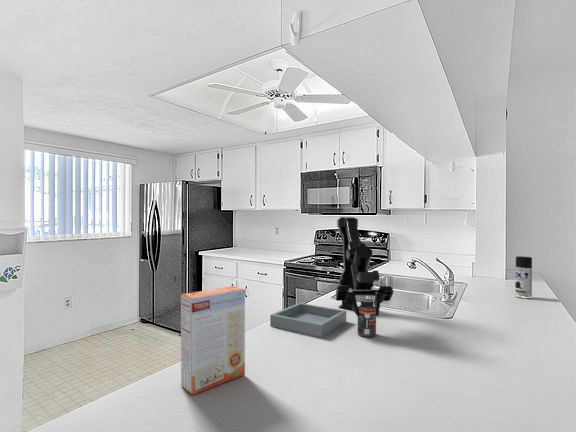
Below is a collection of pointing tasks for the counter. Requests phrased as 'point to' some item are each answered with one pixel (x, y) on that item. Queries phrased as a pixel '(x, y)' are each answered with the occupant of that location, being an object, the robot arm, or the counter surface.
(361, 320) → the supplement bottle
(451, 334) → the counter surface
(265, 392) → the counter surface
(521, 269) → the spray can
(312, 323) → the gray square tray
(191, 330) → the cracker box
